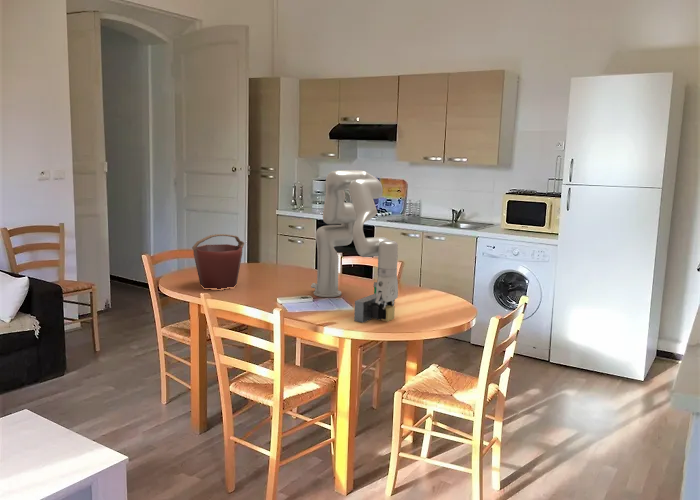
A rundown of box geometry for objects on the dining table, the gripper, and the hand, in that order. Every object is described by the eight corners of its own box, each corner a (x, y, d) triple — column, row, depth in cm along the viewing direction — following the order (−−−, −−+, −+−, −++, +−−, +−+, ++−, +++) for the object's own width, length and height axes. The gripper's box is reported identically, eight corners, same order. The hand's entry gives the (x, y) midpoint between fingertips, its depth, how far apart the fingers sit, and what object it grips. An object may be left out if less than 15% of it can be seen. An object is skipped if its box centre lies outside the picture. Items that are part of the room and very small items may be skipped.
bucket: (243, 280, 307) (242, 231, 302) (248, 291, 286) (248, 237, 281) (192, 282, 300) (191, 231, 296) (193, 293, 279) (192, 238, 275)
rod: (357, 315, 249) (358, 303, 248) (364, 312, 253) (364, 300, 252) (387, 321, 241) (388, 309, 240) (394, 318, 245) (394, 306, 244)
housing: (354, 320, 241) (354, 300, 239) (380, 310, 257) (380, 291, 256) (363, 322, 239) (363, 302, 237) (388, 311, 255) (389, 292, 254)
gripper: (384, 276, 232) (382, 323, 235) (406, 269, 246) (404, 314, 250) (367, 274, 236) (366, 320, 239) (389, 267, 250) (388, 310, 254)
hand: (385, 316), depth 244 cm, fingers closed on rod, 5 cm apart
